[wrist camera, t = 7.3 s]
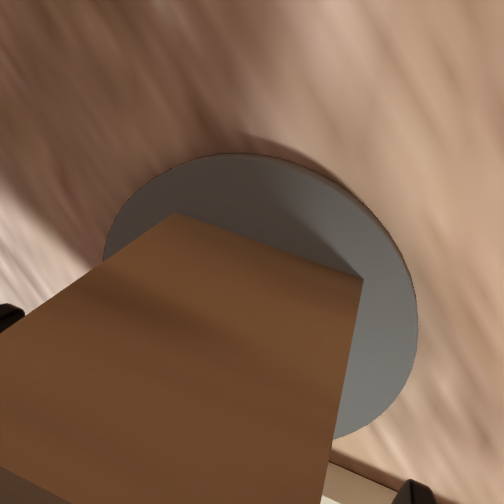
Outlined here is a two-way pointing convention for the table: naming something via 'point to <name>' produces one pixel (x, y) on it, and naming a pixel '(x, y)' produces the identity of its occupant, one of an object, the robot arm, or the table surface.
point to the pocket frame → (353, 488)
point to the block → (178, 376)
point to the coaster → (300, 254)
